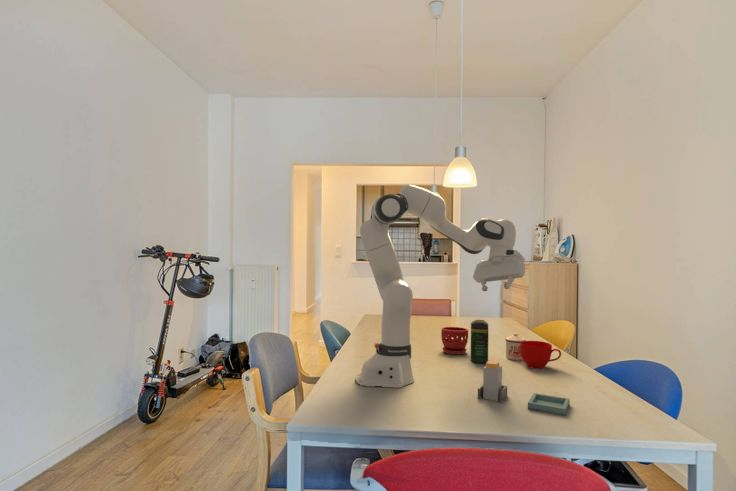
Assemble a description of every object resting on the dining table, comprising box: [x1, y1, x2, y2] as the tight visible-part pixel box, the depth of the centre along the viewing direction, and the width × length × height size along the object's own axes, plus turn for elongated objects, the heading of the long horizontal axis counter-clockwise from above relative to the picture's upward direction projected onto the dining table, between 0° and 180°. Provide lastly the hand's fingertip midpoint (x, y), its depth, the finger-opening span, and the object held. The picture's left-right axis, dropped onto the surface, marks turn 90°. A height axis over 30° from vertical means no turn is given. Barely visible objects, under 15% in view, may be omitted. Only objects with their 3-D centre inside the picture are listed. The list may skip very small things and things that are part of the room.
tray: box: [527, 392, 570, 417], centre depth 141 cm, size 11×11×2 cm
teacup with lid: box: [504, 332, 527, 361], centre depth 205 cm, size 12×9×12 cm
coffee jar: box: [470, 319, 489, 364], centre depth 200 cm, size 10×8×19 cm
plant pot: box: [440, 326, 469, 356], centre depth 216 cm, size 13×13×12 cm
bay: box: [477, 383, 508, 404], centre depth 150 cm, size 8×8×4 cm
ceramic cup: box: [520, 340, 562, 369], centre depth 189 cm, size 13×17×10 cm
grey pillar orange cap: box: [482, 360, 503, 402], centre depth 150 cm, size 5×5×12 cm
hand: (495, 289), depth 164 cm, fingers open, 8 cm apart
